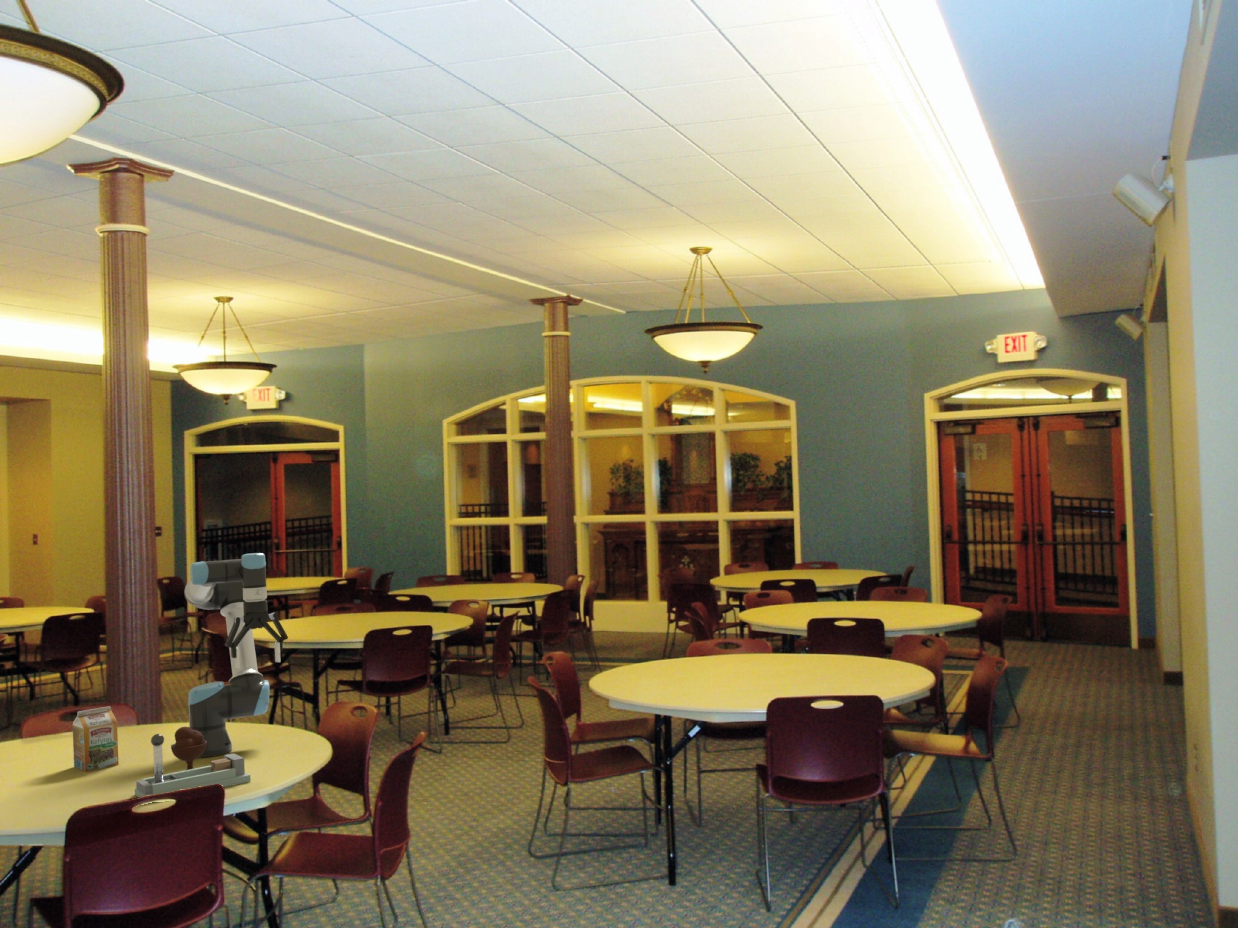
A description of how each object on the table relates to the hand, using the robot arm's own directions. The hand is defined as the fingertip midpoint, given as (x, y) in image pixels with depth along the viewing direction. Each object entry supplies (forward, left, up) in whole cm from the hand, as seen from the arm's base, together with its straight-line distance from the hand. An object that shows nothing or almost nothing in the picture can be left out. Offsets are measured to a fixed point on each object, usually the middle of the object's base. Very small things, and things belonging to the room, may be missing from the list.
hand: (257, 664), depth 356 cm
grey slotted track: (+16, -27, -32) cm, 45 cm away
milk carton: (-40, -41, -32) cm, 66 cm away
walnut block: (+16, -19, -30) cm, 39 cm away
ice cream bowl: (-3, -22, -32) cm, 39 cm away
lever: (+16, -35, -29) cm, 49 cm away
